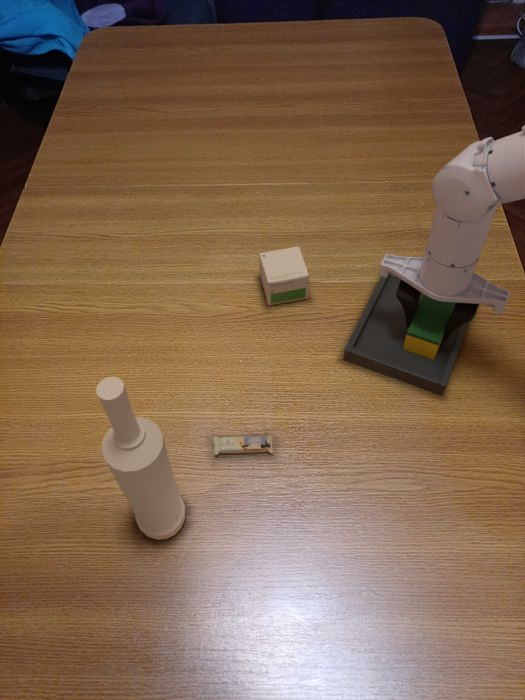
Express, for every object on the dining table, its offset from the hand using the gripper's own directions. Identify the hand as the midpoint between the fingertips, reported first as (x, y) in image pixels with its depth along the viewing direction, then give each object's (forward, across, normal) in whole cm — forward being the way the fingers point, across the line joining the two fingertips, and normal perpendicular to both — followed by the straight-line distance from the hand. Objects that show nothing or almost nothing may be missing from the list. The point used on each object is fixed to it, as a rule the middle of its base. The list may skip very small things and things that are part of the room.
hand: (428, 328), depth 77 cm
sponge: (+1, 0, 0) cm, 1 cm away
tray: (+2, +2, -1) cm, 3 cm away
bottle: (+2, +18, +35) cm, 39 cm away
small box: (+2, +20, 0) cm, 20 cm away
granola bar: (+2, +14, +24) cm, 28 cm away
